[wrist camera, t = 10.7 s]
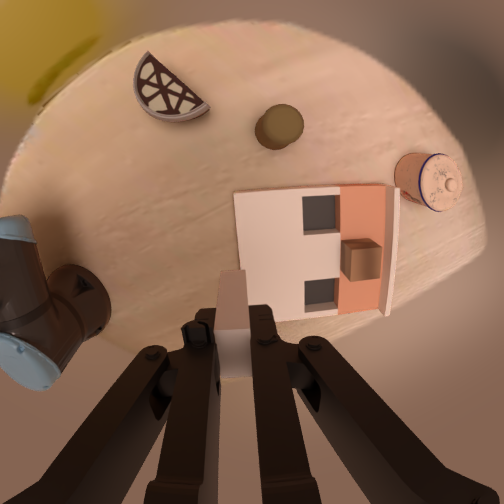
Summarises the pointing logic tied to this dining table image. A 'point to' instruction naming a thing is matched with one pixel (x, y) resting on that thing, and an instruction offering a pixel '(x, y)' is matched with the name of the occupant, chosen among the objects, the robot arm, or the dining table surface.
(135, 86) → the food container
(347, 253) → the walnut block
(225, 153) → the dining table surface
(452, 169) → the teacup with lid
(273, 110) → the cork
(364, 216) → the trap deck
